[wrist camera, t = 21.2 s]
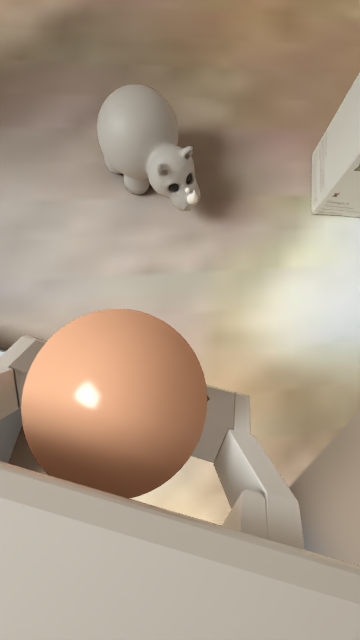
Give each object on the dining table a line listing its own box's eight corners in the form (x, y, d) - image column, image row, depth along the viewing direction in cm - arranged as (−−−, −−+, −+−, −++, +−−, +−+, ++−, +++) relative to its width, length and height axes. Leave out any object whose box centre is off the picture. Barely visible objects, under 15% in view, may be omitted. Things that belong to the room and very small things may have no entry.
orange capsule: (113, 334, 17) (58, 289, 9) (203, 357, 17) (225, 333, 9) (84, 427, 16) (-8, 469, 8) (179, 454, 16) (180, 524, 8)
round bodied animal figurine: (162, 249, 31) (156, 198, 23) (96, 164, 33) (68, 89, 25) (219, 210, 32) (234, 148, 24) (152, 130, 34) (143, 46, 26)
